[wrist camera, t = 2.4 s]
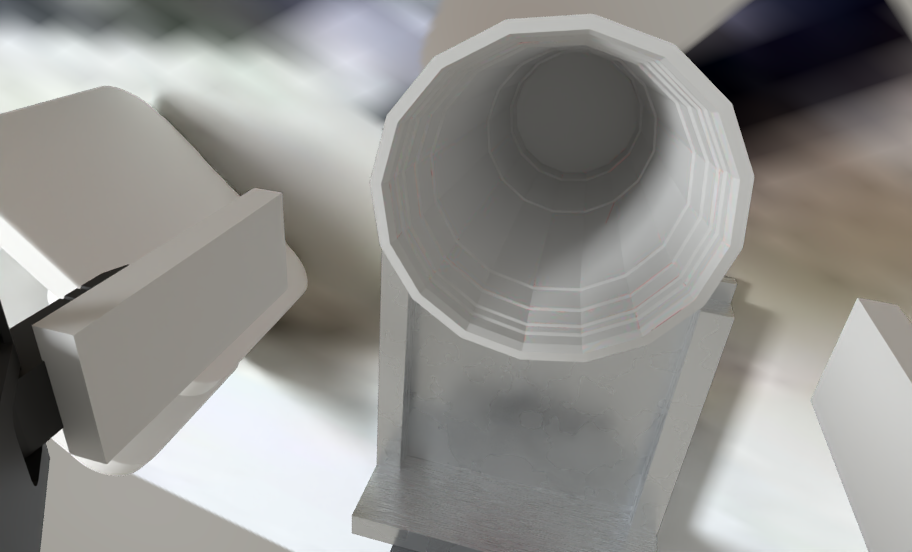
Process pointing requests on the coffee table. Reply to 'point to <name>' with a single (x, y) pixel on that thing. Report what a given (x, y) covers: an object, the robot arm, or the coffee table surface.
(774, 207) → the coffee table surface
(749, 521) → the coffee table surface
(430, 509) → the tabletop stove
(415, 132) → the plastic cup
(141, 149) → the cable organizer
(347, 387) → the coffee table surface
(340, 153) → the coffee table surface
